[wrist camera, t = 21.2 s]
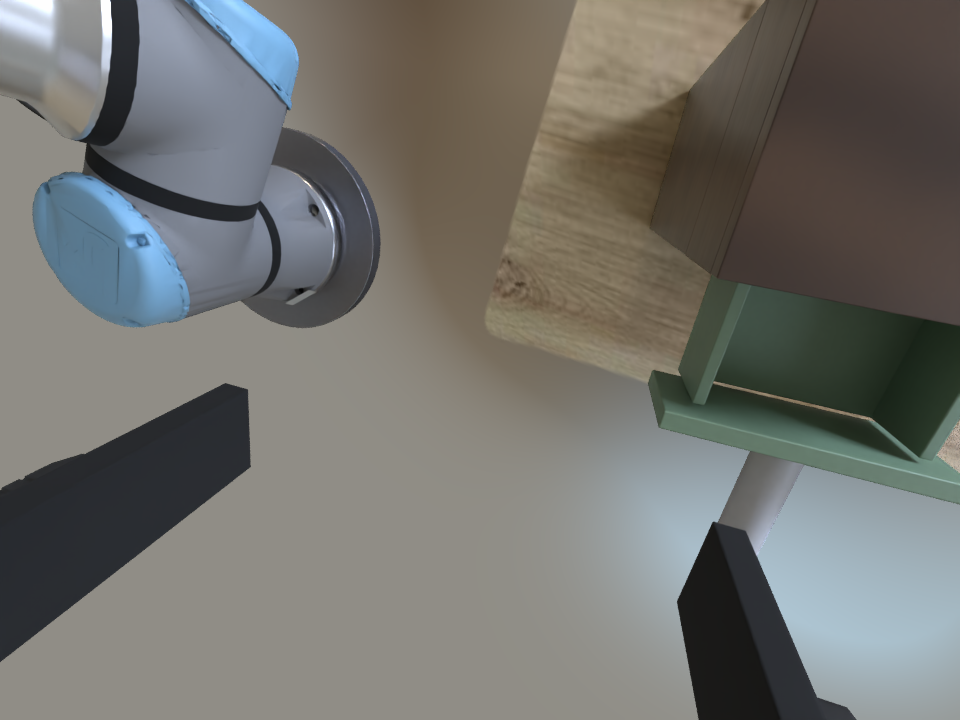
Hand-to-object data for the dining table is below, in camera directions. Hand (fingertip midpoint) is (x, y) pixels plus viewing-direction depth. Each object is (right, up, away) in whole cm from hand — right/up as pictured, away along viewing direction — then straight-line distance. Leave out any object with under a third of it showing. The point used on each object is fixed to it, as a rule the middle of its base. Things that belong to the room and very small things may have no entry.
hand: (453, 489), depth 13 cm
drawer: (+18, +1, +14) cm, 23 cm away
